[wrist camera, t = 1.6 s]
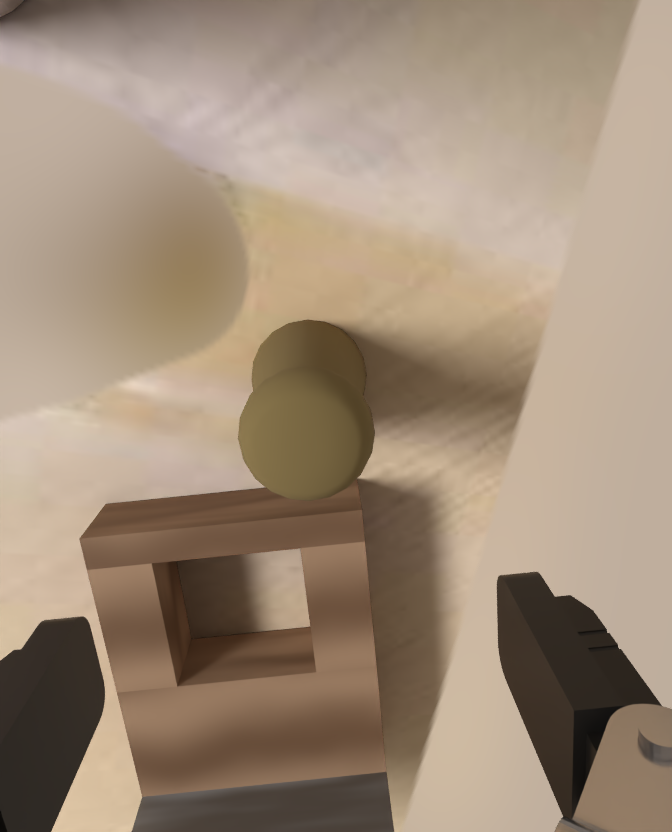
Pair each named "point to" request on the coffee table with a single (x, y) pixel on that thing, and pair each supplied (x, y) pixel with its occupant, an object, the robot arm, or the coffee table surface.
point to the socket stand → (244, 668)
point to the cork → (307, 412)
